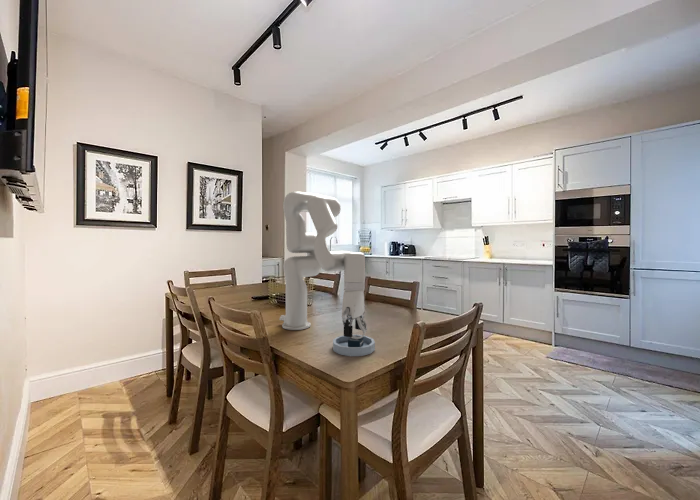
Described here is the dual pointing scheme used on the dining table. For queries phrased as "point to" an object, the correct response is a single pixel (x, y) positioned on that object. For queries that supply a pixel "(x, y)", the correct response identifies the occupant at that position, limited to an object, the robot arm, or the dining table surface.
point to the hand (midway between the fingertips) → (353, 332)
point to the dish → (342, 347)
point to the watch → (358, 340)
